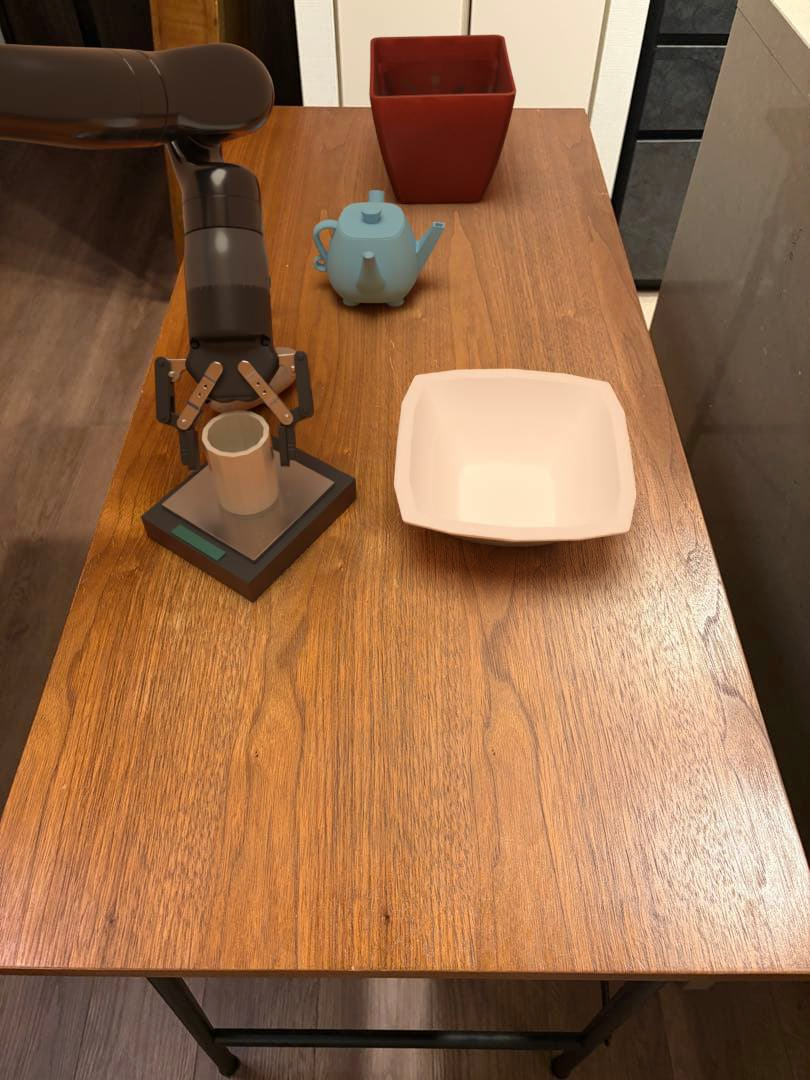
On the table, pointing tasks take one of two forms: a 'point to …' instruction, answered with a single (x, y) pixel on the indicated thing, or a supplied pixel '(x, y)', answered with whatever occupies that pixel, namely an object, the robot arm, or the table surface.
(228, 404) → the stone
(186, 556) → the scale
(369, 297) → the teapot
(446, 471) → the bowl
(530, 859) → the table surface
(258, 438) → the cup
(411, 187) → the flower pot
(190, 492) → the scale pan
